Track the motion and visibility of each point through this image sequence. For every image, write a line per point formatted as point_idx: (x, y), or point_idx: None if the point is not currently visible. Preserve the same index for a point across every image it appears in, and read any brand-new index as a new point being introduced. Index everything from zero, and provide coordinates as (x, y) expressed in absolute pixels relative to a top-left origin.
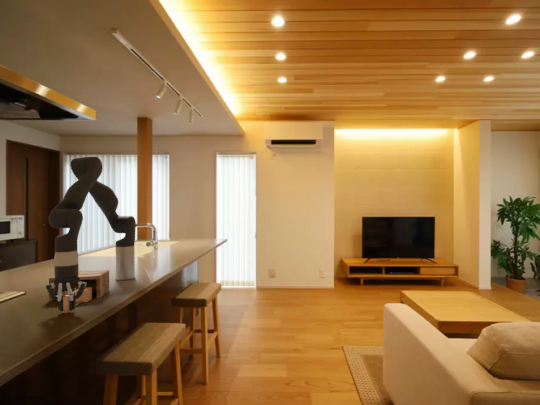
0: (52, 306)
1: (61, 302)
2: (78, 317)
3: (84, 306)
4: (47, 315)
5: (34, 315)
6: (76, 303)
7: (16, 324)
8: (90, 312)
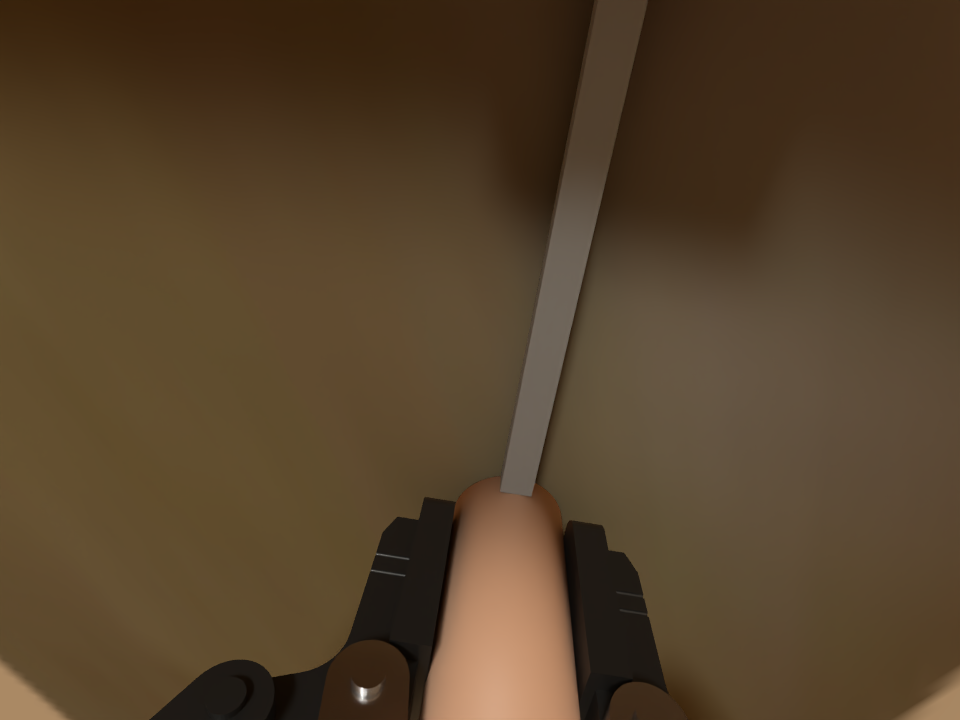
0: (53, 17)
1: (414, 703)
2: (684, 702)
3: (738, 265)
4: (276, 530)
5: (92, 476)
6: (574, 143)
7: (109, 680)
8: (826, 599)
